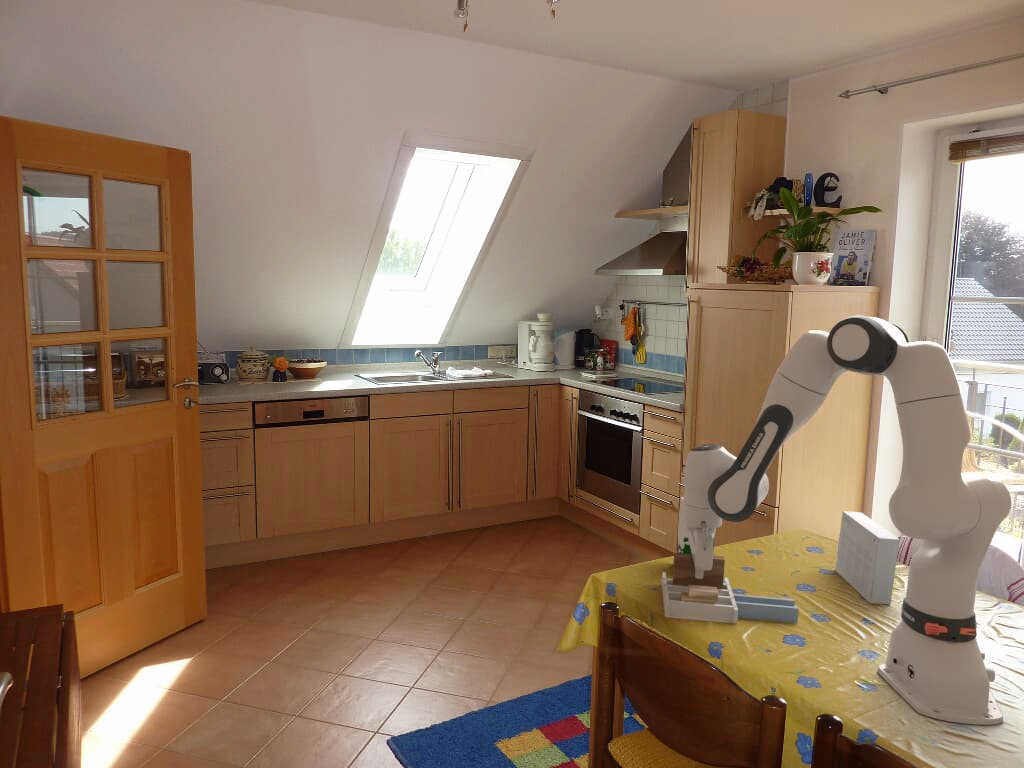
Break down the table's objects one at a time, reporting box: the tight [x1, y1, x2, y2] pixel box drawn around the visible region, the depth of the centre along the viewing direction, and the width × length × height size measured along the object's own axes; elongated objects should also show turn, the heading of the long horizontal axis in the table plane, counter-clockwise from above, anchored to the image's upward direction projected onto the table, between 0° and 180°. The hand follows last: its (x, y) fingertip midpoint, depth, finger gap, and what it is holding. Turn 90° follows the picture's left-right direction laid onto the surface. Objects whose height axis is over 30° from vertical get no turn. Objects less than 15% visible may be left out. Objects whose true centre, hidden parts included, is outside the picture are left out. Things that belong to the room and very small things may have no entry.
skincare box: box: [834, 510, 900, 605], centre depth 188 cm, size 21×6×16 cm, turn 179°
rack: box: [661, 571, 739, 624], centre depth 175 cm, size 18×15×4 cm
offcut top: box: [688, 585, 718, 601], centre depth 169 cm, size 3×6×2 cm, turn 81°
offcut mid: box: [681, 592, 715, 604], centre depth 169 cm, size 3×7×2 cm, turn 81°
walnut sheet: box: [672, 552, 726, 589], centre depth 177 cm, size 2×11×9 cm, turn 82°
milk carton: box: [676, 496, 716, 554], centre depth 195 cm, size 9×9×20 cm
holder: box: [733, 593, 800, 624], centre depth 170 cm, size 6×13×4 cm, turn 81°
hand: (698, 574), depth 177 cm, fingers closed on walnut sheet, 2 cm apart
